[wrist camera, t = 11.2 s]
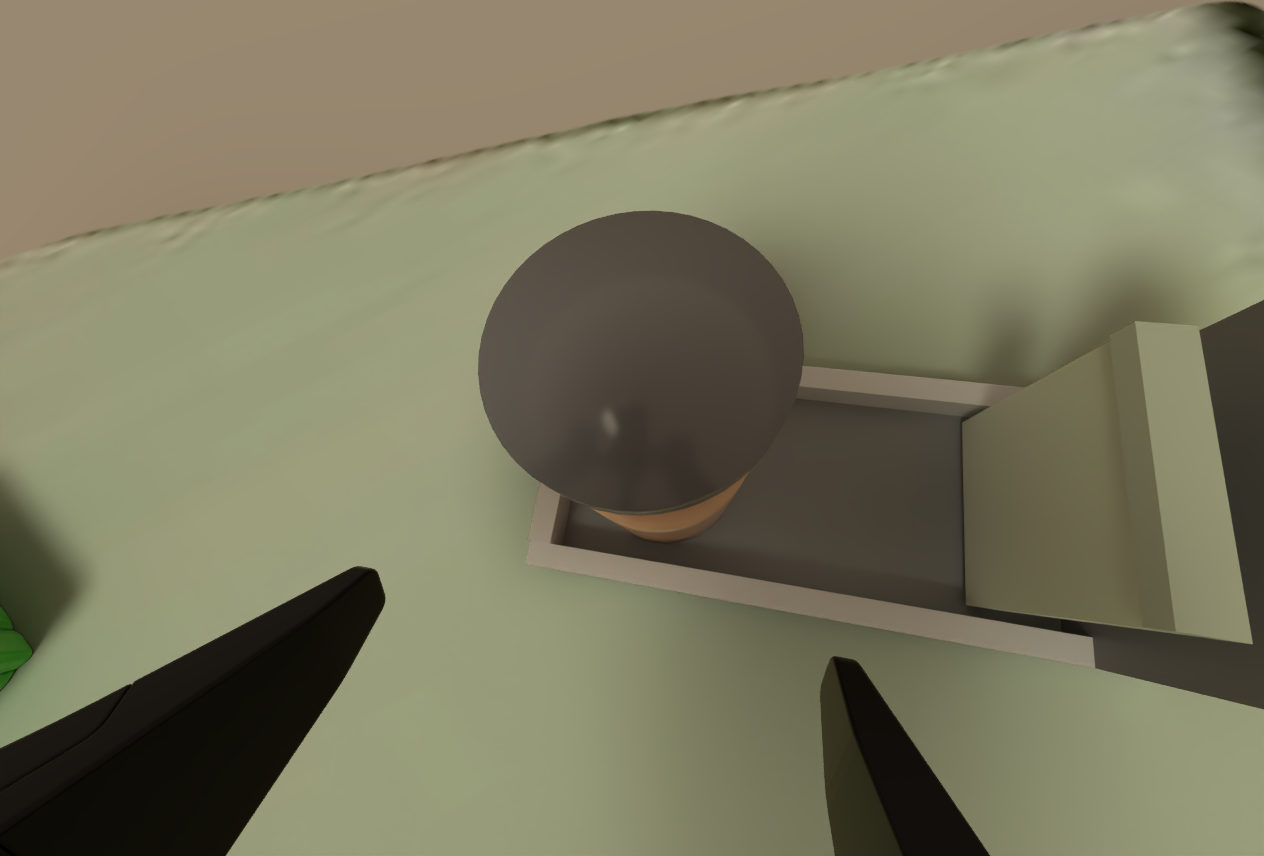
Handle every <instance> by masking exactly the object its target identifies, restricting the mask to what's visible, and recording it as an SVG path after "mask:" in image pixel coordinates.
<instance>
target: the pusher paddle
mask: <svg viewBox="0 0 1264 856" xmlns="http://www.w3.org/2000/svg"><path fill="white" fill-rule="evenodd" d="M962 444H963V492H964V539H965V587H966V605H968V606H974V607H980V608H986V609H992V610H999V611H1006V612H1014V613H1022V614H1029V615H1037V616H1044V617H1052V618H1060V619H1067V620H1075V621H1082V622H1090V623H1098V624H1105V625H1113V626H1120V627H1128V628H1136V629H1143V630H1151V631H1158V632H1166V633H1173V634H1181V635H1189V636H1196V637H1204V638H1210V639H1216V640H1224V641H1231V642H1239V643H1246V644H1253V642H1252V636H1251V630H1250V624H1249V619H1248V613H1247V607H1246V601H1245V595H1244V589H1243V583H1242V578H1241V572H1240V566H1239V560H1238V554H1237V548H1236V542H1235V537H1234V531H1233V525H1232V519H1231V513H1230V507H1229V502H1228V496H1227V490H1226V484H1225V478H1224V472H1223V466H1222V461H1221V455H1220V449H1219V443H1218V437H1217V431H1216V425H1215V420H1214V414H1213V408H1212V402H1211V396H1210V390H1209V384H1208V379H1207V373H1206V367H1205V361H1204V355H1203V349H1202V344H1201V338H1200V332H1199V326H1195V325H1182V324H1168V323H1155V322H1141V321H1134V322H1133V323H1131V324H1129V325H1127V326H1125V327H1124V328H1122V329H1120V330H1118V331H1117V332H1115V333H1113V334H1111V335H1110V341H1108V342H1106V343H1105V344H1103V345H1101V346H1099V347H1097V348H1096V349H1094V350H1092V351H1090V352H1088V353H1087V354H1085V355H1083V356H1081V357H1079V358H1078V359H1076V360H1074V361H1072V362H1070V363H1069V364H1067V365H1065V366H1063V367H1061V368H1060V369H1058V370H1056V371H1054V372H1052V373H1051V374H1049V375H1047V376H1045V377H1043V378H1042V379H1040V380H1038V381H1036V382H1034V383H1032V384H1031V385H1029V386H1027V387H1025V388H1023V389H1022V390H1020V391H1018V392H1016V393H1014V394H1013V395H1011V396H1009V397H1007V398H1005V399H1004V400H1002V401H1000V402H998V403H996V404H995V405H993V406H991V407H989V408H987V409H986V410H984V411H982V412H980V413H978V414H977V415H975V416H973V417H971V418H969V419H968V420H966V421H964V422H962Z"/></svg>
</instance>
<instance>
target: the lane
mask: <svg viewBox="0 0 1264 856" xmlns="http://www.w3.org/2000/svg"><path fill="white" fill-rule="evenodd" d="M1199 332H1200V338H1201V344H1202V349H1203V355H1204V361H1205V367H1206V373H1207V379H1208V384H1209V390H1210V396H1211V402H1212V408H1213V414H1214V420H1215V425H1216V431H1217V437H1218V443H1219V449H1220V455H1221V461H1222V466H1223V472H1224V478H1225V484H1226V490H1227V496H1228V502H1229V507H1230V513H1231V519H1232V525H1233V531H1234V537H1235V542H1236V548H1237V554H1238V560H1239V566H1240V572H1241V578H1242V583H1243V589H1244V595H1245V601H1246V607H1247V613H1248V619H1249V624H1250V630H1251V636H1252V642H1253V644H1246V643H1239V642H1231V641H1224V640H1216V639H1210V638H1204V637H1196V636H1189V635H1181V634H1173V633H1166V632H1158V631H1151V630H1143V629H1136V628H1128V627H1120V626H1113V625H1105V624H1098V623H1090V622H1082V621H1075V620H1067V619H1060V618H1052V617H1044V616H1037V615H1029V614H1022V613H1014V612H1006V611H999V610H992V609H986V608H980V607H974V606H968V605H966V587H965V539H964V492H963V444H962V422H964V421H966V420H968V419H969V418H971V417H973V416H975V415H977V414H978V413H980V412H982V411H984V410H986V409H987V408H989V407H991V406H993V405H995V404H996V403H998V402H1000V401H1002V400H1004V399H1005V398H1007V397H1009V396H1011V395H1013V394H1014V393H1016V392H1018V391H1020V390H1022V389H1023V388H1025V387H1018V386H1007V385H997V384H987V383H976V382H966V381H956V380H946V379H935V378H925V377H915V376H905V375H894V374H884V373H874V372H863V371H853V370H843V369H833V368H822V367H812V366H803V368H802V377H801V381H800V385H799V389H798V393H797V397H796V399H795V402H794V404H793V406H792V409H791V411H790V414H789V416H788V418H787V420H786V421H785V423H784V425H783V426H782V428H781V430H780V431H779V433H778V435H777V436H776V438H775V439H774V441H773V443H772V444H771V446H770V447H769V449H768V450H767V451H766V453H765V454H764V455H763V456H762V458H761V459H760V460H759V461H758V462H757V464H756V465H755V466H754V467H753V468H752V469H751V470H750V471H749V473H748V474H747V476H746V478H745V479H744V481H743V483H742V484H741V486H740V488H739V489H738V491H737V493H736V495H735V496H734V498H733V500H732V501H731V503H730V505H729V506H728V508H727V510H726V511H725V513H724V514H723V516H722V517H721V518H720V519H719V521H718V522H717V523H716V524H715V525H713V526H712V527H711V528H710V529H709V530H707V531H706V532H704V533H703V534H701V535H699V536H697V537H695V538H692V539H689V540H687V541H682V542H678V543H656V542H651V541H647V540H644V539H641V538H639V537H637V536H635V535H633V534H631V533H630V532H628V531H626V530H625V529H623V528H622V527H620V526H619V525H617V524H615V523H614V522H612V521H611V520H609V519H607V518H606V517H604V516H603V515H601V514H600V513H598V512H596V511H595V510H593V509H592V508H589V507H586V506H583V505H580V504H578V503H576V502H574V501H572V500H570V499H568V498H566V497H564V496H562V495H560V494H559V493H557V492H555V491H554V490H552V489H550V488H549V487H547V486H546V485H544V484H543V483H541V482H540V486H539V490H538V495H537V499H536V504H535V508H534V513H533V517H532V522H531V526H530V531H529V535H528V540H531V541H530V546H529V550H528V555H527V559H526V564H528V565H533V566H539V567H544V568H550V569H555V570H561V571H566V572H572V573H577V574H583V575H588V576H594V577H599V578H605V579H610V580H615V581H621V582H626V583H632V584H637V585H643V586H648V587H654V588H659V589H665V590H670V591H676V592H681V593H687V594H692V595H698V596H703V597H709V598H714V599H720V600H725V601H730V602H736V603H741V604H747V605H752V606H758V607H763V608H769V609H774V610H780V611H785V612H791V613H796V614H802V615H807V616H813V617H818V618H824V619H829V620H834V621H840V622H845V623H851V624H856V625H862V626H867V627H873V628H878V629H884V630H889V631H895V632H900V633H906V634H911V635H917V636H922V637H928V638H933V639H939V640H944V641H949V642H955V643H960V644H966V645H971V646H977V647H982V648H988V649H993V650H999V651H1004V652H1010V653H1015V654H1021V655H1026V656H1032V657H1037V658H1043V659H1048V660H1054V661H1059V662H1064V663H1070V664H1075V665H1081V666H1086V667H1092V668H1097V669H1101V670H1105V671H1109V672H1113V673H1117V674H1121V675H1125V676H1130V677H1134V678H1138V679H1142V680H1146V681H1150V682H1154V683H1158V684H1162V685H1166V686H1171V687H1175V688H1179V689H1183V690H1187V691H1191V692H1195V693H1199V694H1203V695H1207V696H1212V697H1216V698H1220V699H1224V700H1228V701H1232V702H1236V703H1240V704H1244V705H1248V706H1253V707H1257V708H1261V709H1264V300H1263V301H1261V302H1259V303H1257V304H1255V305H1252V306H1250V307H1248V308H1246V309H1244V310H1242V311H1240V312H1238V313H1236V314H1233V315H1231V316H1229V317H1227V318H1225V319H1223V320H1221V321H1219V322H1217V323H1215V324H1212V325H1210V326H1208V327H1206V328H1204V329H1202V330H1200V331H1199Z"/></svg>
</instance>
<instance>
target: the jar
mask: <svg viewBox="0 0 1264 856" xmlns="http://www.w3.org/2000/svg"><path fill="white" fill-rule="evenodd" d="M803 359H804V351H803V334H802V329H801V324H800V319H799V315H798V312H797V309H796V307H795V304H794V301H793V298H792V296H791V294H790V292H789V291H788V289H787V287H786V285H785V283H784V281H783V280H782V278H781V277H780V276H779V274H778V273H777V271H776V270H775V269H774V267H773V266H772V265H771V264H770V263H769V262H768V261H767V259H766V258H765V257H764V256H763V255H762V254H761V253H760V252H759V251H758V250H756V249H755V248H754V247H753V246H751V245H750V244H749V243H748V242H746V241H745V240H744V239H742V238H741V237H739V236H737V235H736V234H734V233H732V232H731V231H729V230H727V229H725V228H723V227H721V226H718V225H716V224H714V223H712V222H709V221H706V220H703V219H700V218H697V217H693V216H690V215H684V214H679V213H674V212H662V211H634V212H627V213H620V214H614V215H610V216H606V217H602V218H598V219H595V220H592V221H589V222H587V223H584V224H581V225H578V226H576V227H574V228H572V229H570V230H568V231H566V232H564V233H562V234H560V235H559V236H557V237H556V238H554V239H553V240H551V241H549V242H548V243H546V244H545V245H543V246H542V247H541V248H540V249H539V250H537V251H536V252H535V253H534V254H532V255H531V256H530V257H529V258H528V259H527V260H526V261H525V262H524V263H523V264H522V265H521V266H520V267H519V268H518V269H517V270H516V271H515V273H514V274H513V275H512V276H511V278H510V279H509V280H508V282H507V283H506V284H505V285H504V287H503V289H502V290H501V292H500V294H499V295H498V297H497V299H496V300H495V302H494V304H493V307H492V309H491V311H490V313H489V316H488V318H487V321H486V324H485V327H484V331H483V334H482V338H481V344H480V350H479V364H478V376H479V385H480V393H481V397H482V401H483V405H484V409H485V412H486V414H487V417H488V419H489V422H490V424H491V426H492V429H493V430H494V432H495V434H496V435H497V437H498V439H499V440H500V442H501V444H502V445H503V447H504V448H505V449H506V450H507V452H508V453H509V454H510V455H511V457H512V458H513V459H514V460H515V461H516V462H517V463H518V464H519V465H520V466H521V467H522V468H523V469H524V470H525V471H527V472H528V473H529V474H530V475H531V476H532V477H534V478H535V479H537V480H538V481H540V482H541V483H543V484H544V485H546V486H547V487H549V488H550V489H552V490H554V491H555V492H557V493H559V494H560V495H562V496H564V497H566V498H568V499H570V500H572V501H574V502H576V503H578V504H580V505H583V506H586V507H589V508H592V509H593V510H595V511H596V512H598V513H600V514H601V515H603V516H604V517H606V518H607V519H609V520H611V521H612V522H614V523H615V524H617V525H619V526H620V527H622V528H623V529H625V530H626V531H628V532H630V533H631V534H633V535H635V536H637V537H639V538H641V539H644V540H647V541H651V542H656V543H678V542H682V541H687V540H689V539H692V538H695V537H697V536H699V535H701V534H703V533H704V532H706V531H707V530H709V529H710V528H711V527H712V526H713V525H715V524H716V523H717V522H718V521H719V519H720V518H721V517H722V516H723V514H724V513H725V511H726V510H727V508H728V506H729V505H730V503H731V501H732V500H733V498H734V496H735V495H736V493H737V491H738V489H739V488H740V486H741V484H742V483H743V481H744V479H745V478H746V476H747V474H748V473H749V471H750V470H751V469H752V468H753V467H754V466H755V465H756V464H757V462H758V461H759V460H760V459H761V458H762V456H763V455H764V454H765V453H766V451H767V450H768V449H769V447H770V446H771V444H772V443H773V441H774V439H775V438H776V436H777V435H778V433H779V431H780V430H781V428H782V426H783V425H784V423H785V421H786V420H787V418H788V416H789V414H790V411H791V409H792V406H793V404H794V402H795V399H796V397H797V393H798V389H799V385H800V381H801V377H802V368H803Z"/></svg>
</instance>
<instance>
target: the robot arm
mask: <svg viewBox="0 0 1264 856" xmlns="http://www.w3.org/2000/svg"><path fill="white" fill-rule="evenodd" d="M384 604H385V593H384V590H383V587H382V584H381V581H380V578H379V574H378V572H377V571H376V570H375V569H372V568H367V567H362V566H356V567H353V568H351V569H349V570H347V571H345V572H343V573H341V574H339V575H337V576H335V577H333V578H331V579H329V580H328V581H326V582H324V583H322V584H320V585H318V586H316V587H314V588H312V589H310V590H308V591H307V592H305V593H303V594H301V595H299V596H297V597H295V598H293V599H291V600H289V601H287V602H285V603H284V604H282V605H280V606H278V607H276V608H274V609H272V610H270V611H268V612H266V613H264V614H263V615H261V616H259V617H257V618H255V619H253V620H251V621H249V622H247V623H245V624H243V625H241V626H240V627H238V628H236V629H234V630H232V631H230V632H228V633H226V634H224V635H222V636H220V637H219V638H217V639H215V640H213V641H211V642H209V643H207V644H205V645H203V646H201V647H199V648H197V649H196V650H194V651H192V652H190V653H188V654H186V655H184V656H182V657H180V658H178V659H176V660H174V661H173V662H171V663H169V664H167V665H165V666H163V667H161V668H159V669H157V670H155V671H153V672H151V673H150V674H148V675H146V676H144V677H142V678H140V679H138V680H136V681H135V682H134V683H133V684H129V685H126V686H124V687H123V688H121V689H119V690H117V691H115V692H113V693H111V694H109V695H107V696H105V697H103V698H102V699H100V700H98V701H96V702H94V703H92V704H90V705H88V706H86V707H84V708H82V709H80V710H78V711H76V712H74V713H72V714H70V715H68V716H66V717H64V718H62V719H60V720H58V721H56V722H54V723H52V724H50V725H48V726H46V727H44V728H42V729H40V730H37V731H35V732H33V733H31V734H29V735H27V736H25V737H23V738H21V739H19V740H17V741H15V742H13V743H10V744H8V745H6V746H4V747H2V748H0V856H226V855H227V853H228V852H229V850H230V849H231V847H232V846H233V844H234V843H235V841H236V840H237V838H238V837H239V835H240V834H241V832H242V831H243V829H244V828H245V826H246V825H247V823H248V822H249V820H250V819H251V817H252V816H253V814H254V813H255V811H256V810H257V808H258V807H259V805H260V804H261V802H262V801H263V799H264V798H265V796H266V795H267V793H268V792H269V790H270V789H271V787H272V786H273V784H274V783H275V782H276V780H277V779H278V777H279V776H280V774H281V773H282V771H283V770H284V768H285V767H286V765H287V764H288V762H289V761H290V759H291V758H292V756H293V755H294V753H295V752H296V750H297V749H298V747H299V746H300V744H301V743H302V741H303V740H304V738H305V737H306V735H307V734H308V732H309V731H310V729H311V728H312V726H313V725H314V723H315V722H316V720H317V719H318V717H319V716H320V714H321V713H322V711H323V710H324V708H325V707H326V705H327V704H328V702H329V701H330V699H331V698H332V696H333V695H334V693H335V692H336V690H337V689H338V687H339V686H340V684H341V683H342V681H343V679H344V678H345V676H346V674H347V673H348V671H349V669H350V668H351V666H352V664H353V662H354V660H355V658H356V657H357V655H358V653H359V651H360V649H361V648H362V646H363V644H364V642H365V640H366V638H367V637H368V635H369V633H370V631H371V629H372V627H373V626H374V624H375V622H376V620H377V618H378V617H379V615H380V613H381V611H382V609H383V607H384ZM820 703H821V722H822V740H823V759H824V777H825V791H826V800H827V808H828V814H829V821H830V827H831V834H832V840H833V846H834V853H835V856H990V855H989V853H988V852H987V850H986V849H985V847H984V846H983V844H982V843H981V842H980V840H979V839H978V837H977V836H976V834H975V833H974V831H973V830H972V828H971V827H970V825H969V824H968V822H967V821H966V819H965V818H964V817H963V815H962V814H961V812H960V811H959V809H958V808H957V806H956V805H955V803H954V802H953V800H952V799H951V797H950V796H949V795H948V793H947V792H946V790H945V789H944V787H943V786H942V784H941V783H940V781H939V780H938V778H937V777H936V775H935V774H934V773H933V771H932V770H931V768H930V767H929V765H928V764H927V762H926V761H925V759H924V758H923V756H922V755H921V753H920V752H919V751H918V749H917V748H916V746H915V745H914V743H913V742H912V740H911V739H910V737H909V736H908V734H907V733H906V731H905V730H904V729H903V727H902V726H901V724H900V723H899V721H898V720H897V718H896V717H895V715H894V714H893V712H892V711H891V709H890V708H889V707H888V705H887V704H886V702H885V701H884V699H883V698H882V696H881V695H880V693H879V692H878V690H877V689H876V687H875V686H874V685H873V683H872V682H871V680H870V679H869V677H868V676H867V674H866V673H865V671H864V670H863V668H862V667H861V666H860V664H859V663H858V662H857V661H855V660H853V659H848V658H842V657H837V656H834V657H832V658H831V659H830V661H829V664H828V666H827V669H826V672H825V675H824V678H823V681H822V684H821V690H820Z"/></svg>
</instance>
